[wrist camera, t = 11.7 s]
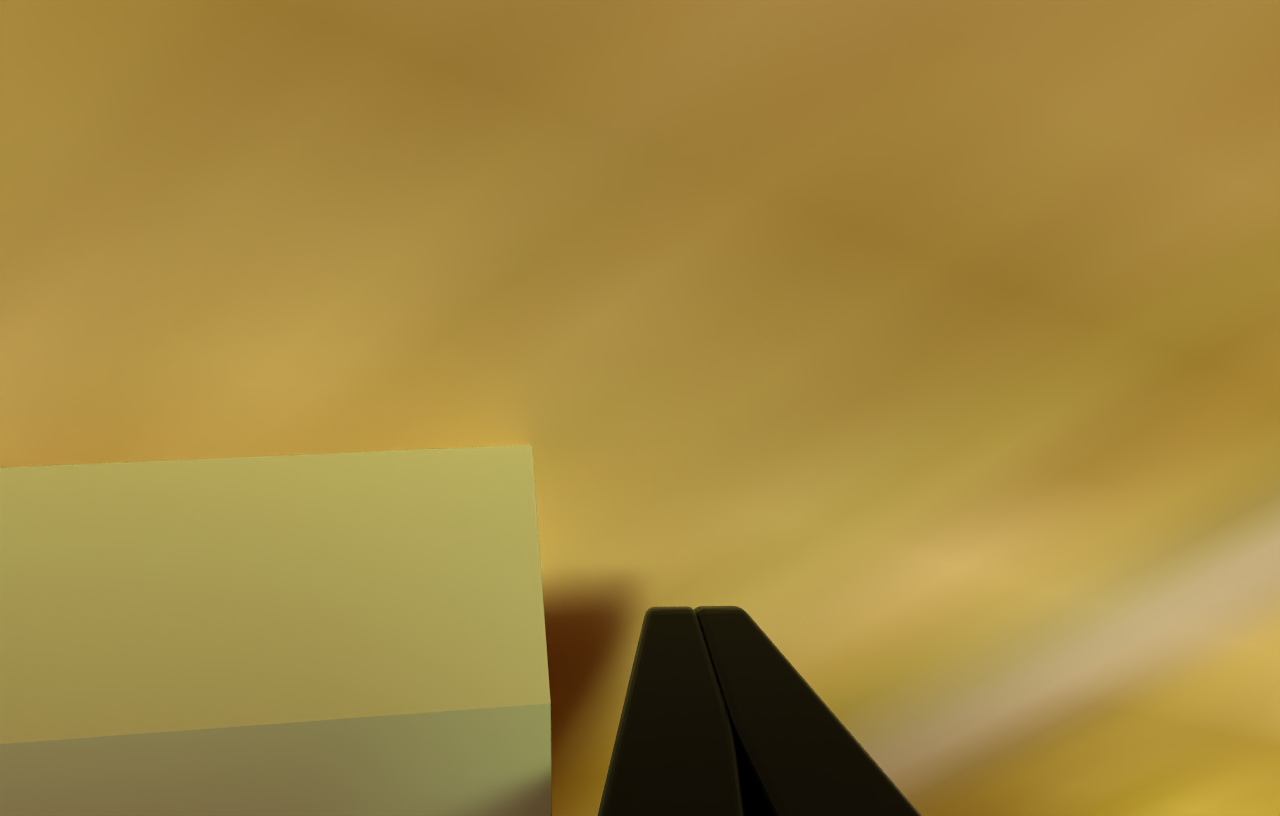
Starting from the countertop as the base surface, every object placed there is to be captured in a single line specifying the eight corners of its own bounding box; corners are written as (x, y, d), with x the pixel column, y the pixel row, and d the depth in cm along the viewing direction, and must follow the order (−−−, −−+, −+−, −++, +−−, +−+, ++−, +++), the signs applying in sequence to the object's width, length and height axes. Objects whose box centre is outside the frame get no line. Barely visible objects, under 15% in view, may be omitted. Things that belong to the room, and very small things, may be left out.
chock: (538, 779, 12) (553, 1064, 10) (-28, 825, 11) (-165, 1148, 9) (529, 424, 9) (550, 702, 7) (-232, 454, 8) (-518, 782, 6)
